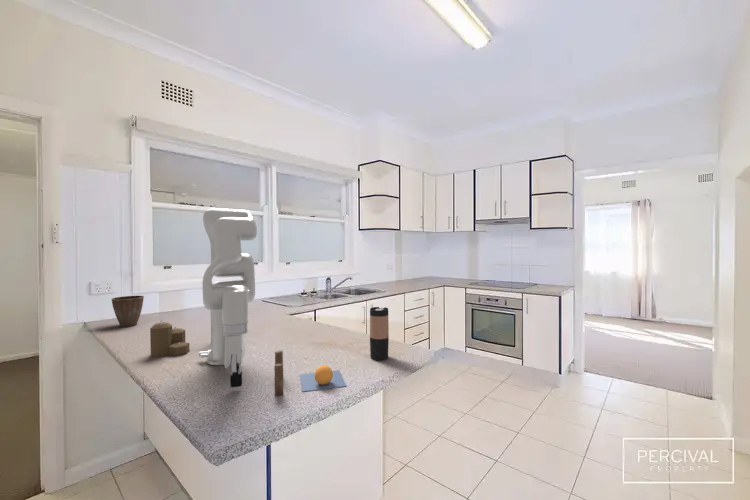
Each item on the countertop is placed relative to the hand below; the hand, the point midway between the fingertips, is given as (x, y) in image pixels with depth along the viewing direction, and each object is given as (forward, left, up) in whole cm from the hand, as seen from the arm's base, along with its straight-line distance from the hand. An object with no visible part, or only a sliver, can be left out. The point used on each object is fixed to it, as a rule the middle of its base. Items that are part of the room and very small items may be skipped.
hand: (236, 385), depth 106 cm
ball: (+27, -3, +2) cm, 27 cm away
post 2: (+13, -6, -2) cm, 15 cm away
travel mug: (+52, +16, -2) cm, 54 cm away
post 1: (+13, +6, -2) cm, 15 cm away
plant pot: (-70, +109, -2) cm, 130 cm away
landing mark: (+27, 0, -2) cm, 27 cm away
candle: (-32, +48, -2) cm, 58 cm away
